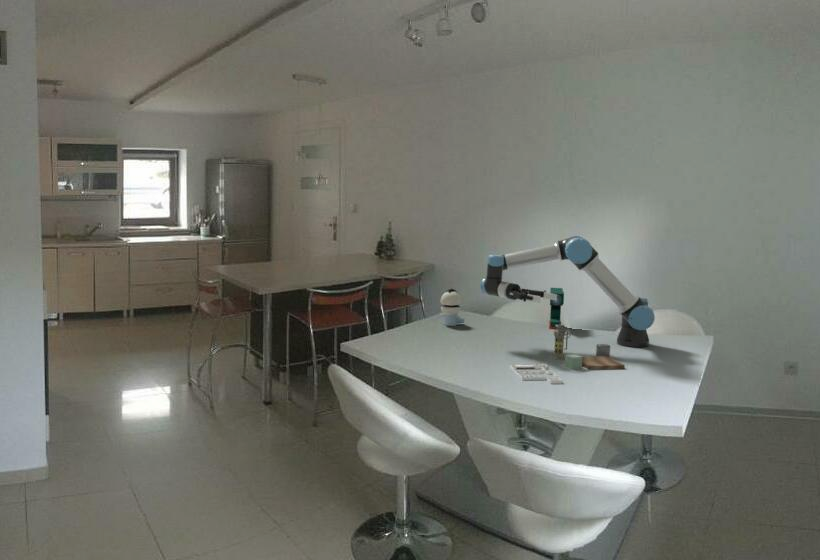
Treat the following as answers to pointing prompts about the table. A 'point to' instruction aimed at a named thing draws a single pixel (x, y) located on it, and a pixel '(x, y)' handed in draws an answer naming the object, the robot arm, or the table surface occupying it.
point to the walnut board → (601, 362)
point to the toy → (451, 308)
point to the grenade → (560, 341)
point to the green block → (573, 361)
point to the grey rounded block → (603, 350)
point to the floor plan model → (551, 379)
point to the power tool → (556, 307)
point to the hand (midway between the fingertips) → (548, 298)
